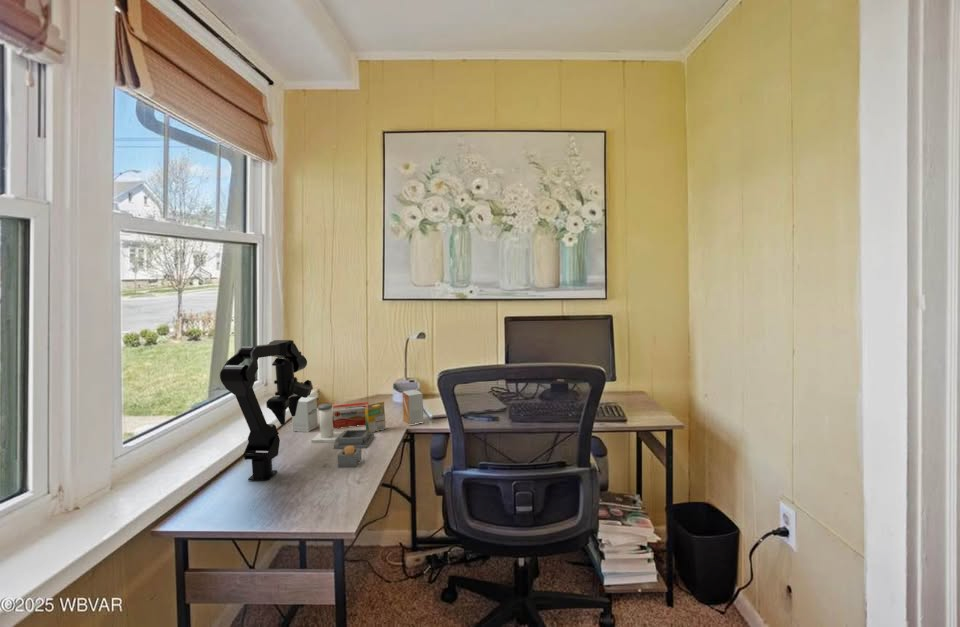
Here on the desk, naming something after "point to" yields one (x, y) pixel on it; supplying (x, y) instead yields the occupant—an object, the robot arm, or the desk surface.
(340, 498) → the desk surface
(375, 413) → the crayon box
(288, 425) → the desk surface
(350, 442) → the frame
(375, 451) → the desk surface
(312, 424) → the supplement box
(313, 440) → the pad
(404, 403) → the small box
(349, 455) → the block
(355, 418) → the medicine box
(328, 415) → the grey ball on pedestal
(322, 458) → the desk surface
